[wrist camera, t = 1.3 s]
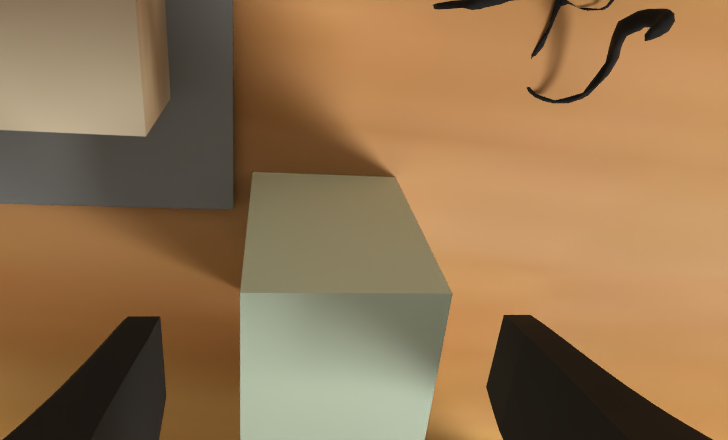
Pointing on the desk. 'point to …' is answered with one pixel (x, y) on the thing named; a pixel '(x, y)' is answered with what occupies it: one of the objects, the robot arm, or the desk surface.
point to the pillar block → (337, 311)
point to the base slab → (83, 66)
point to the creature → (651, 18)
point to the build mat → (161, 145)
